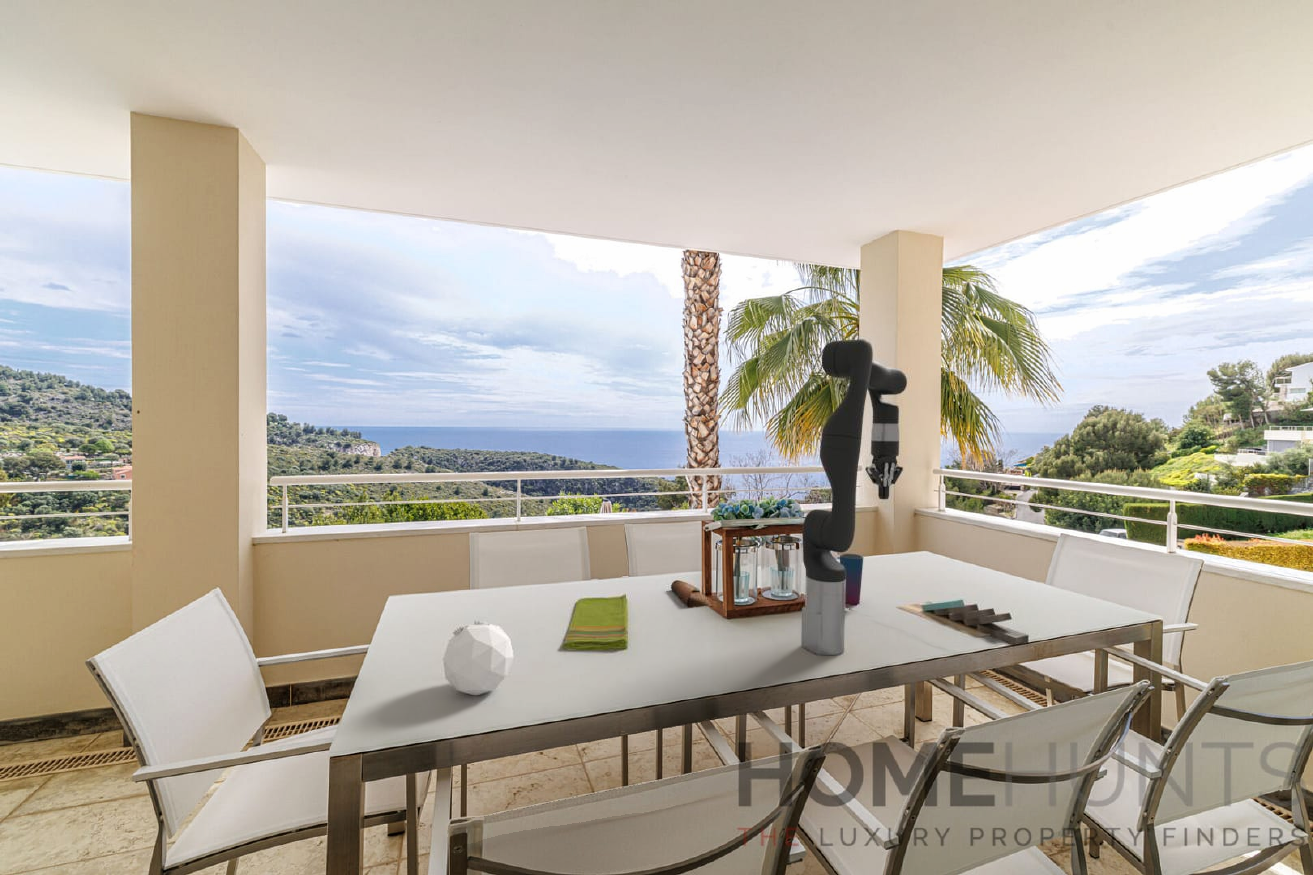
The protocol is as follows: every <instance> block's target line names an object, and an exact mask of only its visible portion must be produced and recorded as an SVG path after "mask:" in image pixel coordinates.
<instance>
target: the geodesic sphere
mask: <svg viewBox="0 0 1313 875" xmlns="http://www.w3.org/2000/svg"><path fill="white" fill-rule="evenodd" d="M452 634H453V636H452V637H451V638H450V639H449V640H448V643H447V646H446V649H445V652H444V655H443V659H442V660H443V667H444V668H443V669H444V677H445V680H447V681H448V683H449V684H451V686H452V687H453V688H454V689H455V690H456V691H458V692H461V693H463V694H468V695H472V696H479V695H482V694H485V693H488V692H491V691H494V690H496V689H497V688H498V687H499V685H500V684H501V683H502V682H503V681H504V680H505V678H507V677H508V674H509V673H510V669H511V666H512V664H513V660H514V658H515V656H514V651H513V646H512V642H511V639H510V637H509V636H508V635H507V633H506V632H505V631H504V630H503V629H502V627H501V626H499V625H495V624H491V623H488V622H485V621H479V620H478V621H477V620H474V622H473V624H469V625H466V626H461V627H458V628H456V630H454V631H453V632H452Z"/></svg>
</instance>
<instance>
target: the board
mask: <svg viewBox="0 0 1313 875" xmlns="http://www.w3.org/2000/svg"><path fill="white" fill-rule="evenodd" d="M931 603H933V602H932V601H924V602H919V603H914V604H913V603H912V604H907V605H901V606H897V607H895V608H897V609H899V610H902V611H904V612H907V613H910V614H913V615H915V616H918V617H920V618H924V619H926V620H929V621H931V622H934V623H937V624H940V625H942V626H946V627H948V628H950V629H953V630H955V631H959V632H961V633H963V634H967V635H969V636H971V637H975V638H981V637H985V636H989V635H988V634H985V633H982V632H980V631H977V624H976V625H967V626H965V624H964V621H963V620H955V621H950V618H949V615H951V614H947V615H937V616H935V612H934V610H927V611H923V610H922V606H921V605H925V604H931Z"/></svg>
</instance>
